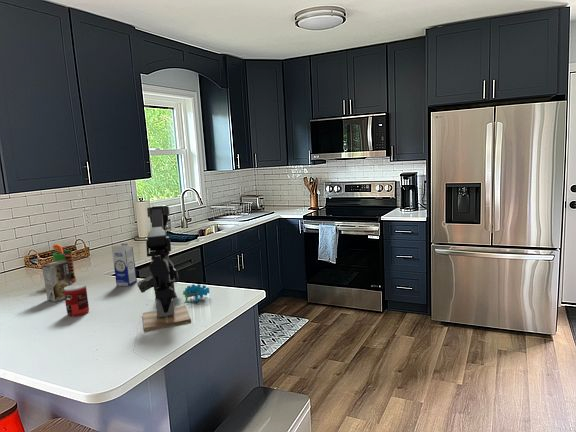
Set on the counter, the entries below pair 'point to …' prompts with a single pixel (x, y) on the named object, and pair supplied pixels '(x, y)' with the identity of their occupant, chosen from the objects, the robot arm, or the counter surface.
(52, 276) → the coffee box
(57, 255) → the multicoloured piece
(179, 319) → the plate
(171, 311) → the grey box with handle
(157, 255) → the robot arm
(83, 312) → the canned food
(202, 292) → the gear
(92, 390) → the counter surface
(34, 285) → the counter surface
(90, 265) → the counter surface
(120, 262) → the milk carton
